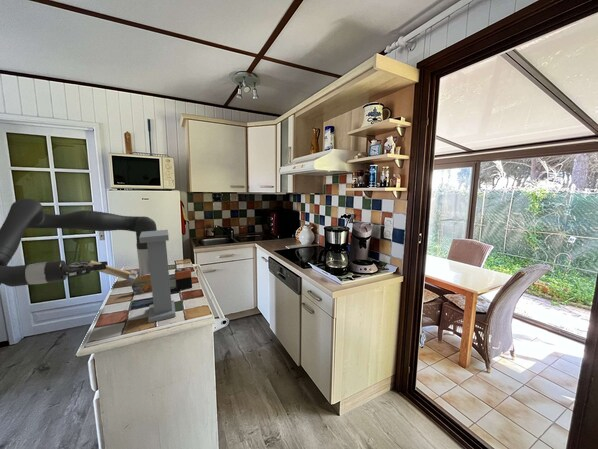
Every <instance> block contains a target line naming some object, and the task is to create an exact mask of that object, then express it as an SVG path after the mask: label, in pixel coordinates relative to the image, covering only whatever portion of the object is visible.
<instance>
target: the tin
mask: <svg viewBox="0 0 598 449" xmlns="http://www.w3.org/2000/svg"><path fill="white" fill-rule="evenodd" d="M131 289H132V291H133V292H134V293H136V294H139V295H142V294H143V295H144V294H148V293H152V286H151V277H150V274H146V275H141V276H140V275H138V276H136V279H135V281H134V283H133V284H132V285H131Z"/></svg>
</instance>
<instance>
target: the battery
mask: <svg viewBox="0 0 598 449" xmlns="http://www.w3.org/2000/svg"><path fill="white" fill-rule="evenodd" d="M174 278H175V288H176V291H182V290H187V289H191V288H193V280H192V270H191V268H190V267H188V266H187V267H184V268H180V267H179V268H176V270H174Z"/></svg>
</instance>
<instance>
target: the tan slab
mask: <svg viewBox="0 0 598 449" xmlns="http://www.w3.org/2000/svg"><path fill="white" fill-rule="evenodd" d="M90 261H91V262H90V263H89V265H96V264H102V263H99V262H100V261H96V260H90ZM96 271H97V272H99V273H104V274H107V275H111V276H113V277H117V278H120V279H123V280H126V281H125V283H126V284H128V285H130V286H132V284H133V283H134V281H135V279H136V277H137V275H138V274H137V273H138V270H134V269H131V270H130V271H128V270H125V269H121V268H117V267H115V266H111V265H106V269H104V270H96Z"/></svg>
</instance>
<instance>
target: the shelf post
mask: <svg viewBox="0 0 598 449" xmlns="http://www.w3.org/2000/svg"><path fill="white" fill-rule="evenodd" d="M169 240H170V239H169V230H168V229H160V230H157V231H145V232H141V234H140V237H139V241H140V243H147V248H148V257H149V267H150V277H151V286H152V292H151V293H152V294H151V296H152V302H153V303H152V304H149V305H148V306H149V308H148V313H147V314H148V315H147V317H148V318H147V322H148V324H150V323H155V322H159V321H163V320H168V319H172V318H176V317H177V316H176V306H175V300H174V299H173V300H172V296H171V294H172V293H171V284H170V283H171V282H170V272H169V262H168V261H169V260H168V250H167V241H168V242H169Z"/></svg>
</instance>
